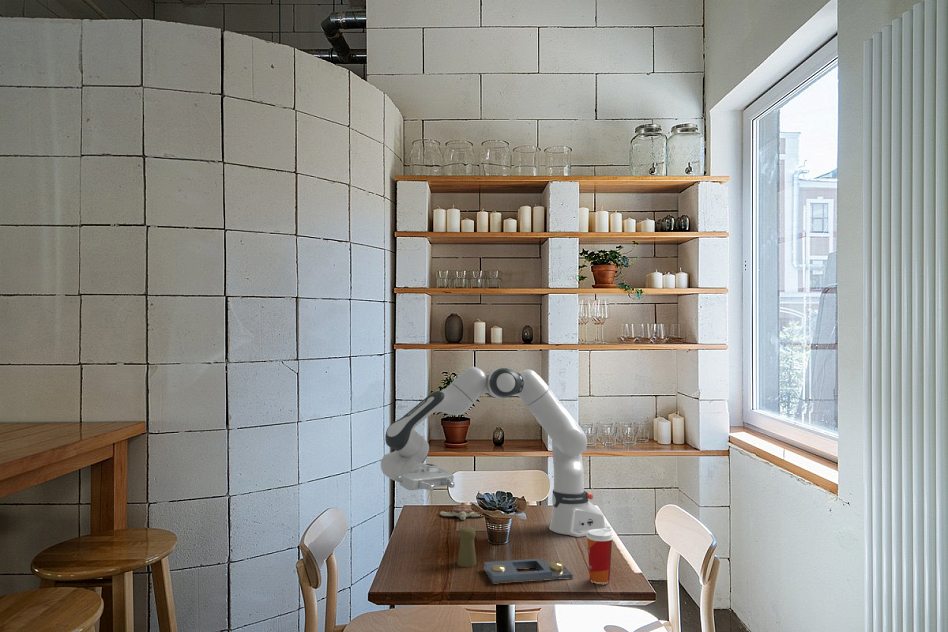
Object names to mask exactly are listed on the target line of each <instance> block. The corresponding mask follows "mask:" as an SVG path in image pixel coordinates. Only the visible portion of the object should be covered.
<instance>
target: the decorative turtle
mask: <svg viewBox="0 0 948 632" xmlns="http://www.w3.org/2000/svg"><path fill="white" fill-rule="evenodd" d="M470 506H471V505H469V504H467V503H466V504H465V503H459V504H457V505H456V506H454V507H453V508H452V509H451V511H449V512H446V511H442V510H441V511H440V513H439V514H440V515H441V516H443V517H457V518H459V520H461V521H465V520H466V519H467V518H469V517H481V516H480V515H478V514H475V513H476V512H475V511H474V512H475V513H474V512H473V511H472V509H471V507H472V506H471V507H470ZM466 517H467V518H466Z"/></svg>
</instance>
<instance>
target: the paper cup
mask: <svg viewBox="0 0 948 632" xmlns="http://www.w3.org/2000/svg"><path fill="white" fill-rule="evenodd" d="M585 537H586V538H587V540H586V541H587V555H588V572H589V581H590V580H592V581H595V582H607V581H609V582H610V579H611V565H612V564H611V562H612V547H613V545H612V544H613V540H614V536H613V534H612V531H611V532H610V531H606V530H602V529H592V530H589V531H588V534H587V535H586V536H585Z"/></svg>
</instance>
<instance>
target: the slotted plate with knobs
mask: <svg viewBox="0 0 948 632" xmlns="http://www.w3.org/2000/svg"><path fill="white" fill-rule="evenodd" d="M519 568H537V569H538V570H539V571H538V570H537V569H536V570H530V571H528V570H527V571H519V570H516V569H519ZM484 570H485V571H484ZM483 571H484V572H486V573H487V574H486V573H485V574H486V576H487V575H488V576H487V577H488V579H489V578H490V579H491V581H492V582H493V583H499V582H509V581H527V580H528V581H529V580H544V579H559V578H574V576H573V574H572V572H571V571H570V570H568V568H567V567H566V566H565V565H564V563H563V562H562V561H560V560H557V561H555V560H554V561H543V560H542V559H541V558H525V559H511V560H510V559H509V560H495V561H484V562H483ZM490 579H489V580H490ZM491 581H490V582H491ZM492 582H491V583H492Z"/></svg>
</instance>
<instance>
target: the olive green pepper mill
mask: <svg viewBox="0 0 948 632" xmlns="http://www.w3.org/2000/svg"><path fill="white" fill-rule="evenodd" d="M476 534H477V533H476V529H475V528H473V527H470V526H467V527H466V526H465V527H464V526H463V527H462V528H460V530H459V532H458V537H459V539H460V543H459V547H458V548H459V549H458V558H457V563H456V564H457V566H459V567H461V566H465V567H464V568H470V567H469V566H474V565H476V564H477V554H476V547H475V538H476V536H477V535H476ZM477 565H478V564H477ZM477 565H476V566H477ZM474 567H475V566H474Z"/></svg>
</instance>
